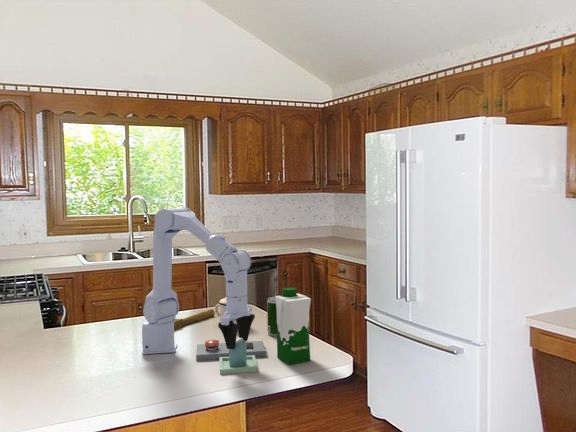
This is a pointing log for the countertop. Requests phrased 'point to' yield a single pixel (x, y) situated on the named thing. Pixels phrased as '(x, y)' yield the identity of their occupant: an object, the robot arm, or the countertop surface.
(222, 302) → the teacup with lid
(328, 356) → the countertop surface
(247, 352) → the housing
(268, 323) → the beer can
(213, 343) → the plunger
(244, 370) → the tray
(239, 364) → the rotary knob
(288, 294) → the milk carton
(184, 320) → the tap handle
